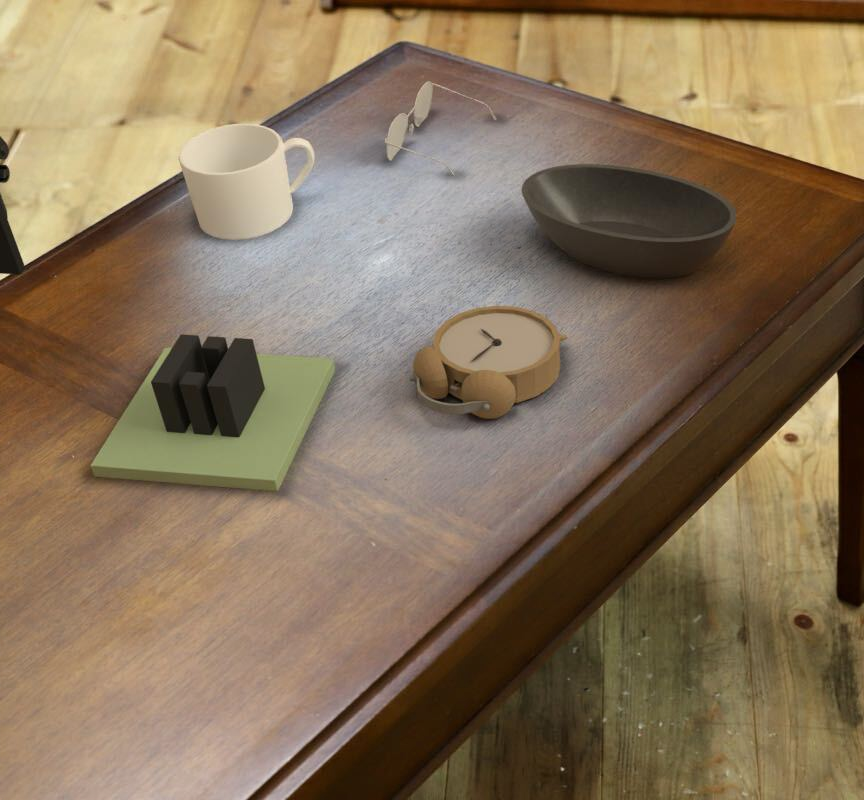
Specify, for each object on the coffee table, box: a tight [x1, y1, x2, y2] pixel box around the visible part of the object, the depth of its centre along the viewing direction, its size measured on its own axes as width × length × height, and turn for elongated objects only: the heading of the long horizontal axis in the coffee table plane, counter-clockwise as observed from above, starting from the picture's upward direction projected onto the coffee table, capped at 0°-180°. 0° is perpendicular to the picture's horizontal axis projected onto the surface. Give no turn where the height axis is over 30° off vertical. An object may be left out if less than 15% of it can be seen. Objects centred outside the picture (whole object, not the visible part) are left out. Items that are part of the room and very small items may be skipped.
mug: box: [178, 123, 316, 241], centre depth 143 cm, size 13×10×8 cm
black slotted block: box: [151, 333, 265, 437], centre depth 117 cm, size 6×6×6 cm
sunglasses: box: [384, 80, 497, 176], centre depth 154 cm, size 14×8×5 cm, turn 163°
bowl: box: [521, 163, 738, 279], centre depth 135 cm, size 12×22×6 cm, turn 65°
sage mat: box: [90, 347, 336, 492], centre depth 118 cm, size 16×16×3 cm
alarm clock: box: [409, 305, 568, 420], centre depth 121 cm, size 11×5×15 cm
